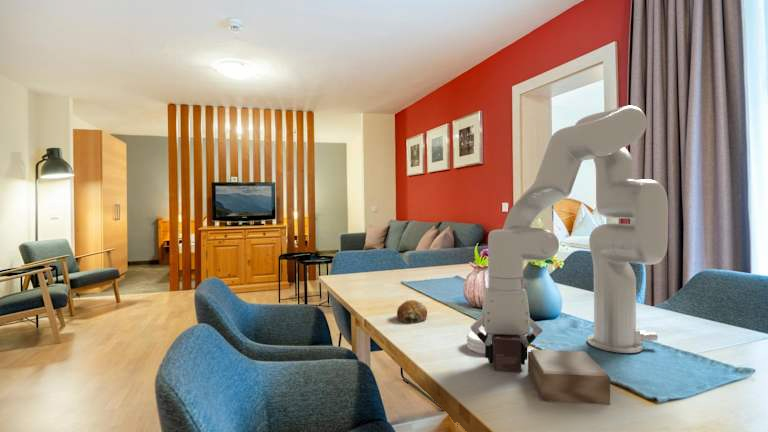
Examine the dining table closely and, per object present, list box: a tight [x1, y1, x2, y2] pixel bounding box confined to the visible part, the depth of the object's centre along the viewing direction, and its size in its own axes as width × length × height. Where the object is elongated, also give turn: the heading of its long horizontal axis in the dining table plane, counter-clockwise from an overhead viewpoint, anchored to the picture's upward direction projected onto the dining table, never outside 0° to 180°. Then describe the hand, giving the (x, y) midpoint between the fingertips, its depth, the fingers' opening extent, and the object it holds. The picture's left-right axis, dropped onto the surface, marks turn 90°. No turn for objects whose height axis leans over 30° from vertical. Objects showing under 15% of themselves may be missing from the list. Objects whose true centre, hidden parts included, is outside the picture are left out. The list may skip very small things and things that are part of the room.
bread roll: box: [396, 299, 428, 324], centre depth 132 cm, size 10×10×8 cm
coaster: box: [466, 329, 492, 355], centre depth 104 cm, size 10×10×4 cm
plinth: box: [527, 349, 611, 405], centre depth 81 cm, size 12×12×6 cm
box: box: [492, 335, 522, 373], centre depth 92 cm, size 6×6×7 cm
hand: (506, 361), depth 92 cm, fingers open, 6 cm apart
